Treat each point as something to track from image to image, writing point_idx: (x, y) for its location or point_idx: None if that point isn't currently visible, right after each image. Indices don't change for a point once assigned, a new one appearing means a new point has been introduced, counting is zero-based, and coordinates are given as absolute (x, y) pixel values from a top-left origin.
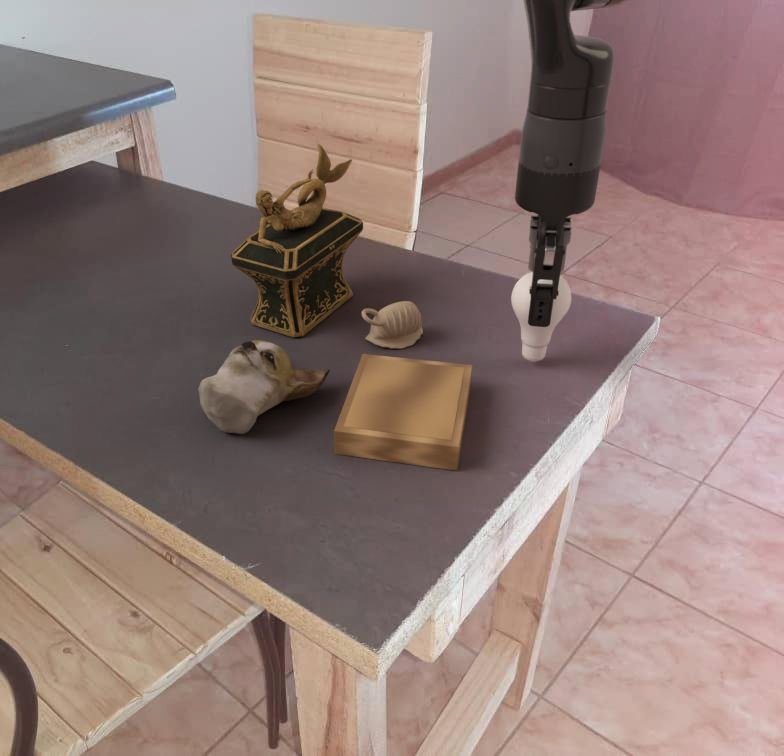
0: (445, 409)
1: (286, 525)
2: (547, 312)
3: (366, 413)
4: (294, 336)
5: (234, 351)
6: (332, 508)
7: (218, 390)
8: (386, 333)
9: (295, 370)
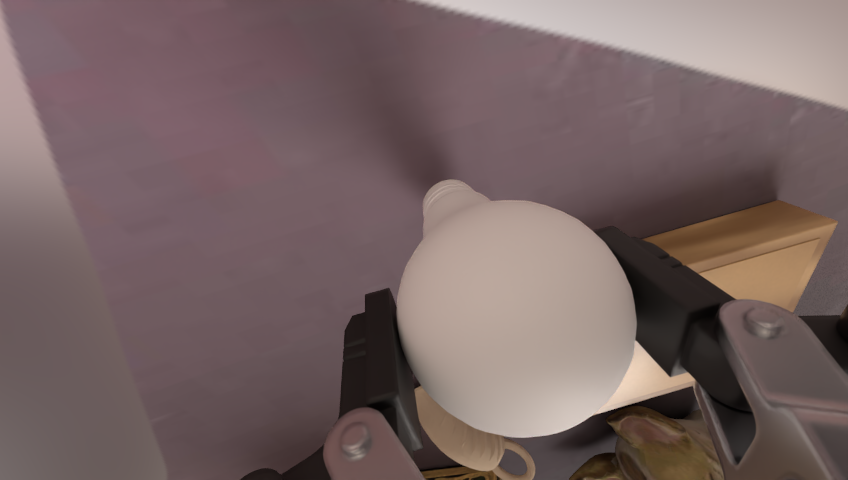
0: (733, 277)
1: (838, 314)
2: (683, 266)
3: None
4: None
5: None
6: (822, 292)
7: None
8: None
9: (638, 446)
